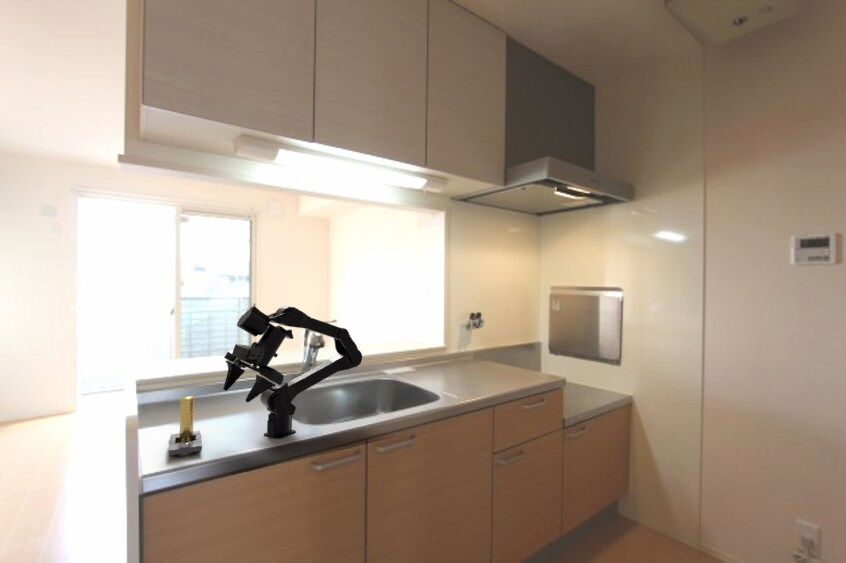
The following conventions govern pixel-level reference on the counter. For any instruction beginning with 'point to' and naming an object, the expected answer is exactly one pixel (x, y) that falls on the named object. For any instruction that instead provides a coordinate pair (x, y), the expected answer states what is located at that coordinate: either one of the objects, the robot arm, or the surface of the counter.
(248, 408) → the counter surface
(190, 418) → the pin
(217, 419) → the counter surface
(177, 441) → the grey slotted block
